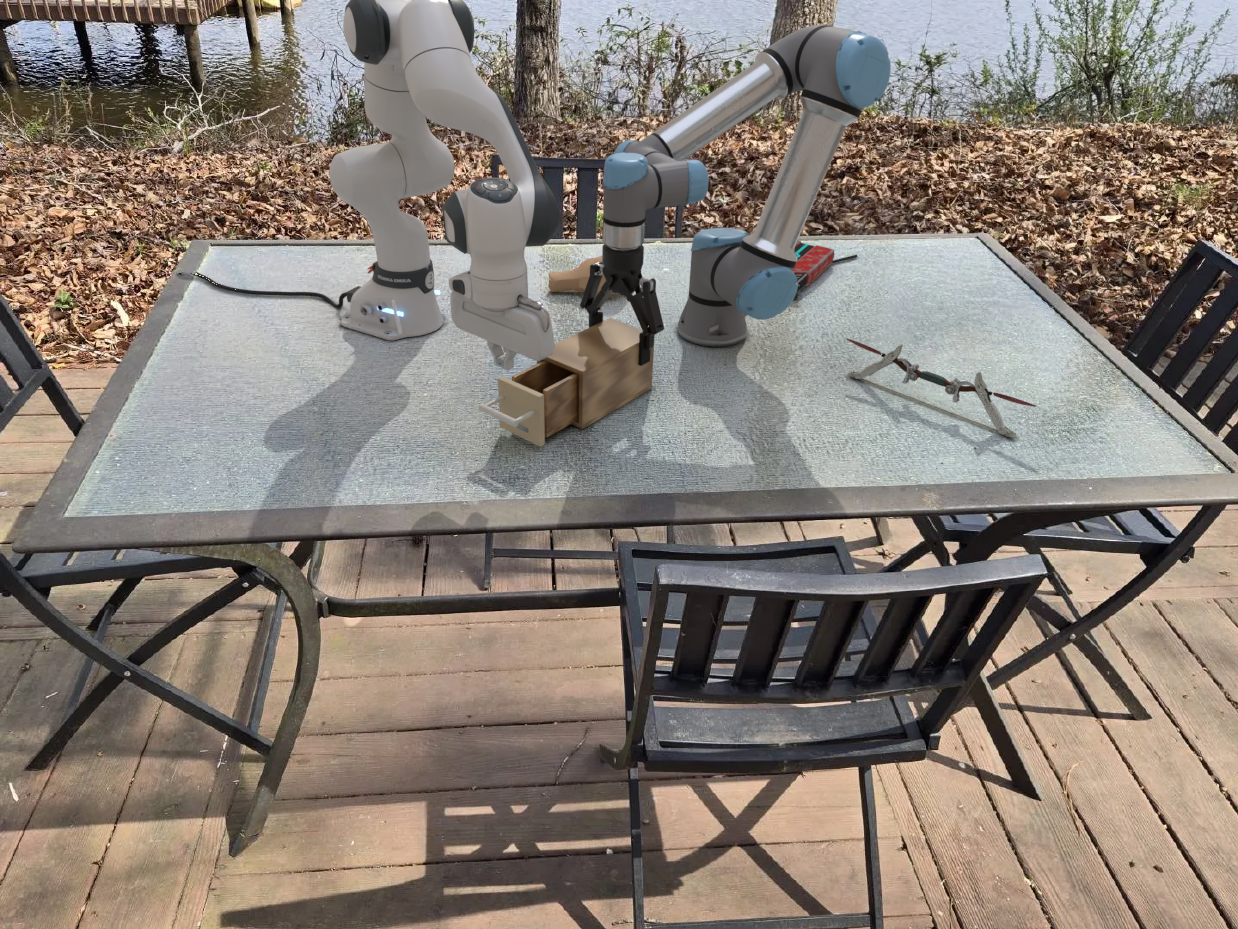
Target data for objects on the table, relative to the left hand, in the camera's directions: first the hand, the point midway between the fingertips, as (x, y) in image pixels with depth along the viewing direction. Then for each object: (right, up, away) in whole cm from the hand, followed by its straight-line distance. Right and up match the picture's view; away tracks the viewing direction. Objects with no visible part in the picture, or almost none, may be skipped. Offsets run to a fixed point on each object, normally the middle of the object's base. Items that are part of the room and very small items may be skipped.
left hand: (504, 366), depth 145 cm
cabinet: (+15, -3, +25) cm, 29 cm away
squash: (+12, +25, +68) cm, 73 cm away
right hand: (+19, +5, +25) cm, 32 cm away
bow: (+79, -5, +26) cm, 83 cm away
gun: (+61, +32, +81) cm, 106 cm away
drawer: (+6, -8, +15) cm, 18 cm away
